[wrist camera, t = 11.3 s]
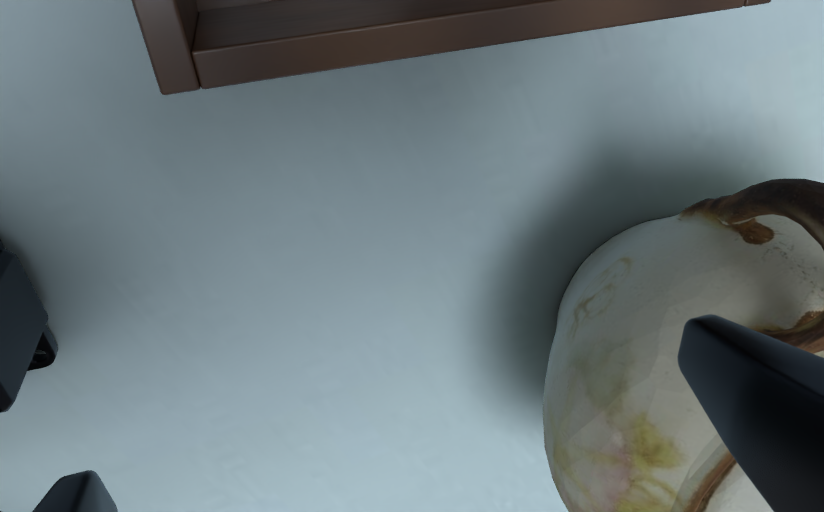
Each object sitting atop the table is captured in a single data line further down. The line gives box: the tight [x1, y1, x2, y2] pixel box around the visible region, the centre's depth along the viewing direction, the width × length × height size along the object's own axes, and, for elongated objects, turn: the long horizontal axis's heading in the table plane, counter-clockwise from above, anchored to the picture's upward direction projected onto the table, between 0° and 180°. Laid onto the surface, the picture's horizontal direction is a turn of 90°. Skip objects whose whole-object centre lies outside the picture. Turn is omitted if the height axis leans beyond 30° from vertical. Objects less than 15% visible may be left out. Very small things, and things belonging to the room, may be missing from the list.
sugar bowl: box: [543, 179, 824, 512], centre depth 20 cm, size 20×15×15 cm
